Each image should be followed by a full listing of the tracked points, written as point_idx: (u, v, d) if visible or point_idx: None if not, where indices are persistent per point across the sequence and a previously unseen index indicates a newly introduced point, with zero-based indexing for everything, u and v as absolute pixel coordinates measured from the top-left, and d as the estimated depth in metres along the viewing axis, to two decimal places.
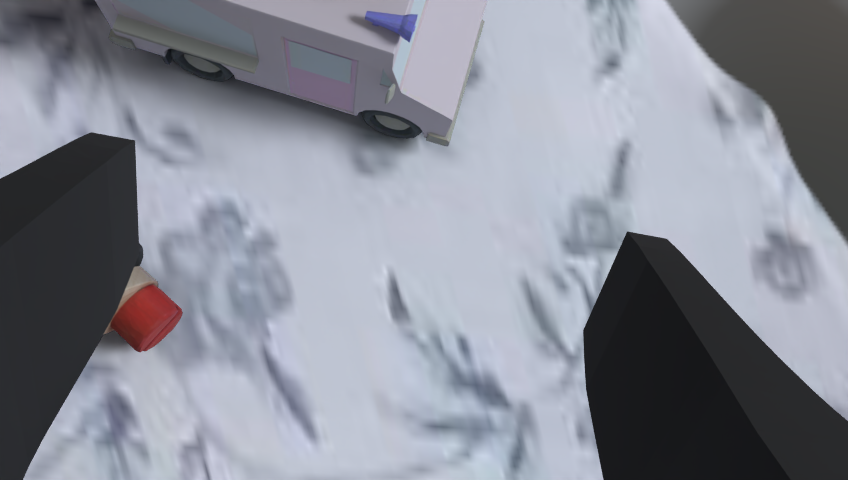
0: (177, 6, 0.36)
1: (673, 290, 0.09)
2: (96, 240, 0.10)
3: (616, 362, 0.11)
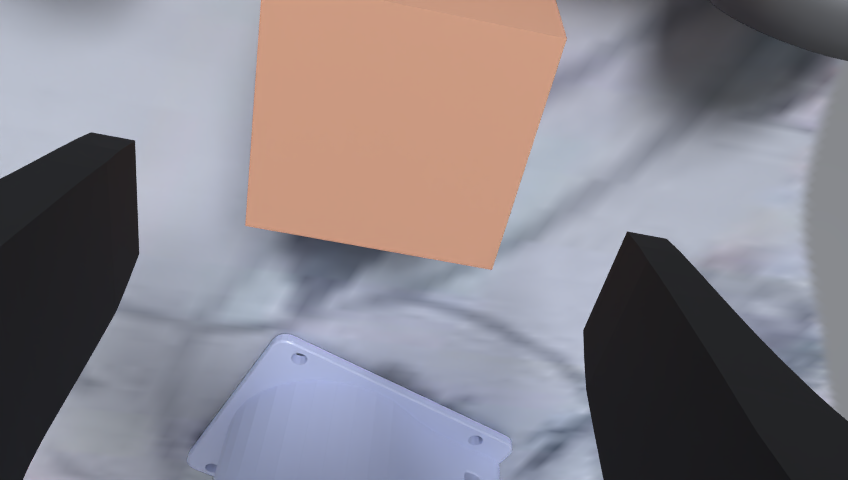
0: None
1: (673, 290, 0.09)
2: (95, 240, 0.10)
3: (617, 362, 0.11)
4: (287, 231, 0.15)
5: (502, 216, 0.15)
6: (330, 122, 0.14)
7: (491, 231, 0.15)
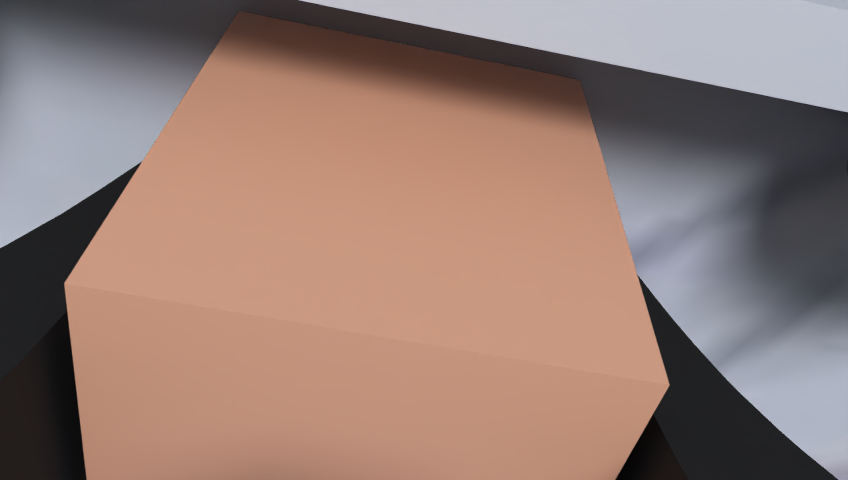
0: None
1: None
2: None
3: None
4: None
5: None
6: None
7: None
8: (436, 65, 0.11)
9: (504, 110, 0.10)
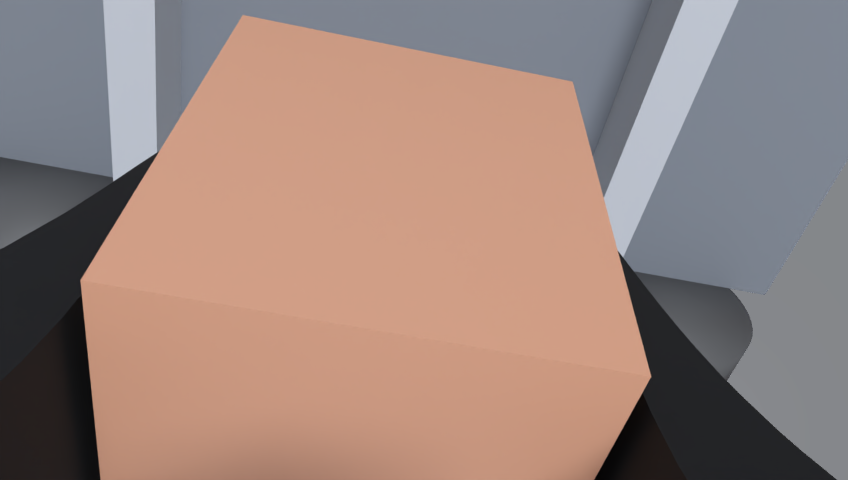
0: None
1: None
2: None
3: None
4: None
5: None
6: (232, 474, 0.08)
7: None
8: (433, 69, 0.11)
9: (499, 113, 0.10)
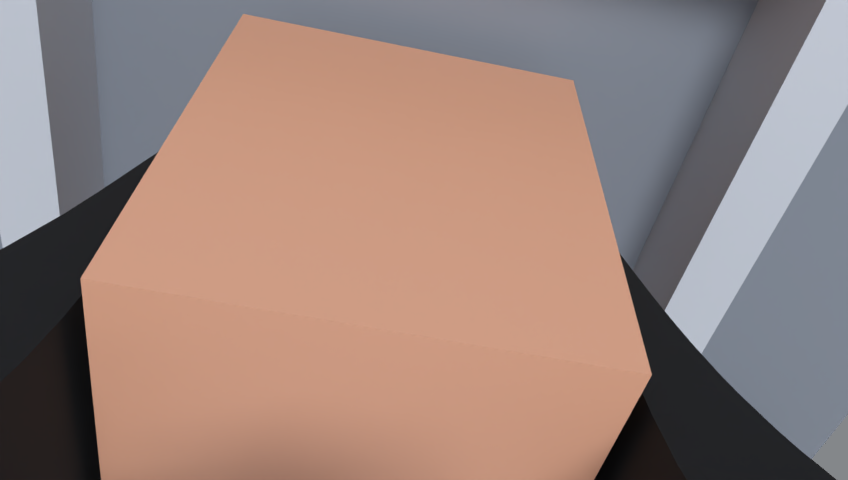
0: None
1: None
2: None
3: None
4: None
5: None
6: (233, 472, 0.08)
7: None
8: (434, 67, 0.11)
9: (500, 111, 0.10)
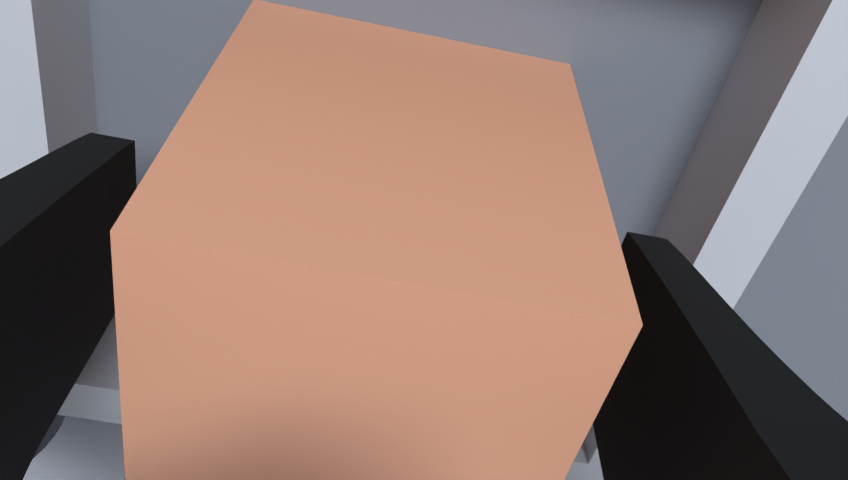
0: None
1: (673, 290, 0.09)
2: (95, 240, 0.10)
3: None
4: None
5: None
6: (247, 424, 0.08)
7: None
8: (436, 50, 0.11)
9: (499, 91, 0.11)
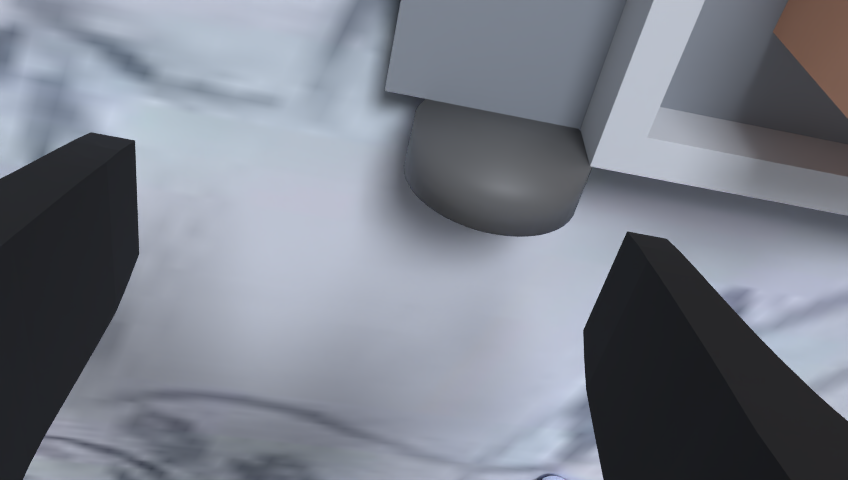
0: None
1: (673, 290, 0.09)
2: (96, 240, 0.10)
3: (616, 362, 0.11)
4: None
5: None
6: None
7: None
8: None
9: None
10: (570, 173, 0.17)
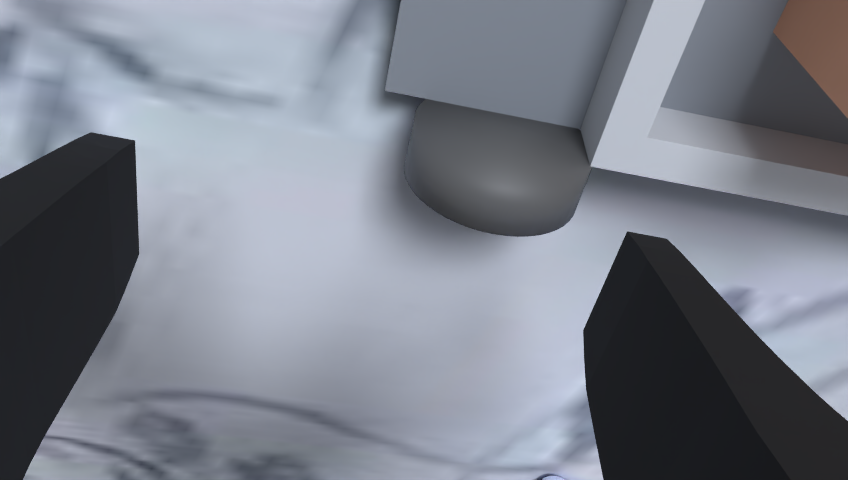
0: None
1: (673, 290, 0.09)
2: (96, 240, 0.10)
3: (617, 362, 0.11)
4: None
5: None
6: None
7: None
8: None
9: None
10: (570, 173, 0.17)
